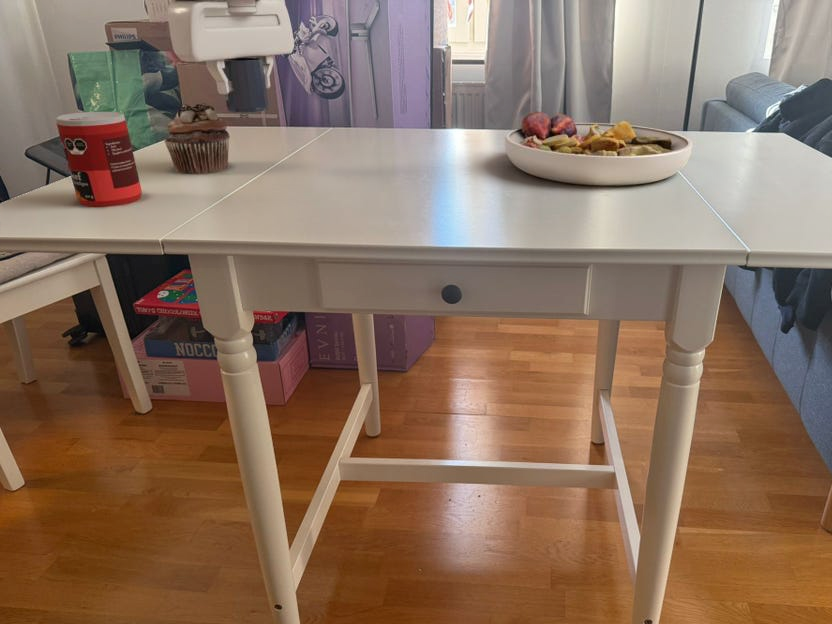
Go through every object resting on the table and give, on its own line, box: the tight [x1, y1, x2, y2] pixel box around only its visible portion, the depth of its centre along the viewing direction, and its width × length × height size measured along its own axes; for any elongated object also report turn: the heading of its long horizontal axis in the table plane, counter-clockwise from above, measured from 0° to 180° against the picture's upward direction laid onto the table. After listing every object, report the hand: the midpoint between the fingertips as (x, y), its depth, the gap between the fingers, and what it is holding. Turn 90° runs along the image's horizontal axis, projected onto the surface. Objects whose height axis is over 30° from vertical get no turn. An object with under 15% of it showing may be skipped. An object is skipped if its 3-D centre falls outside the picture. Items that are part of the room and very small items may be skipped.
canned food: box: [55, 111, 143, 208], centre depth 89 cm, size 8×8×11 cm
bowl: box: [504, 110, 693, 187], centre depth 110 cm, size 30×30×8 cm
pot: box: [222, 57, 270, 114], centre depth 100 cm, size 6×6×7 cm
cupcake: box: [163, 102, 231, 175], centre depth 107 cm, size 10×10×10 cm
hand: (245, 91), depth 101 cm, fingers closed on pot, 6 cm apart
